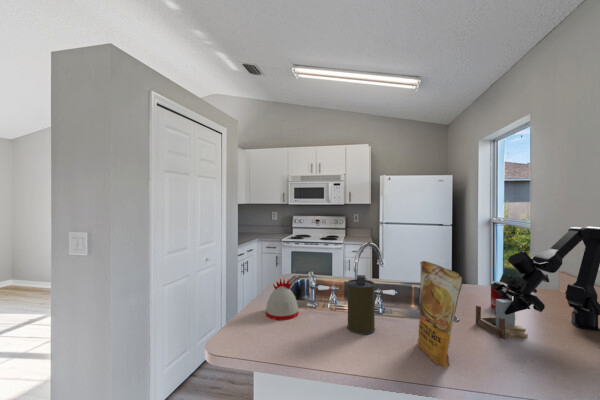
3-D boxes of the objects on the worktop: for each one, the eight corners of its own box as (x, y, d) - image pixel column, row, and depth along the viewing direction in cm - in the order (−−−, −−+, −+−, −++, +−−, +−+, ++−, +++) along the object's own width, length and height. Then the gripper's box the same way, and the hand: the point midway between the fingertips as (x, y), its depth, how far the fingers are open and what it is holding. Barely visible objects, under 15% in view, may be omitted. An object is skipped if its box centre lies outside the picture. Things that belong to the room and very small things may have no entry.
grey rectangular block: (507, 327, 111) (507, 298, 111) (514, 331, 108) (514, 301, 108) (495, 328, 110) (495, 299, 110) (502, 331, 107) (502, 302, 107)
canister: (375, 336, 104) (376, 280, 104) (346, 333, 106) (346, 278, 106) (374, 323, 114) (374, 273, 114) (347, 321, 116) (347, 271, 116)
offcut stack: (519, 333, 106) (519, 324, 106) (528, 337, 103) (528, 329, 103) (502, 333, 105) (502, 325, 105) (510, 338, 102) (510, 330, 102)
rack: (503, 321, 116) (503, 304, 116) (532, 337, 103) (532, 317, 103) (475, 323, 115) (475, 305, 115) (501, 338, 102) (501, 318, 102)
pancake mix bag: (429, 339, 101) (429, 259, 101) (464, 371, 82) (464, 273, 82) (410, 340, 101) (410, 259, 101) (442, 372, 82) (442, 273, 82)
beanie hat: (297, 320, 117) (297, 283, 117) (263, 320, 117) (264, 283, 117) (298, 307, 131) (298, 274, 131) (268, 307, 131) (268, 274, 131)
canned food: (511, 312, 126) (511, 287, 126) (490, 308, 131) (490, 283, 131) (512, 307, 132) (512, 283, 132) (491, 303, 137) (491, 280, 137)
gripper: (495, 262, 119) (470, 289, 118) (537, 273, 100) (508, 306, 99) (513, 280, 120) (488, 308, 118) (557, 295, 101) (529, 328, 100)
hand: (501, 312), depth 109 cm, fingers closed on grey rectangular block, 3 cm apart
